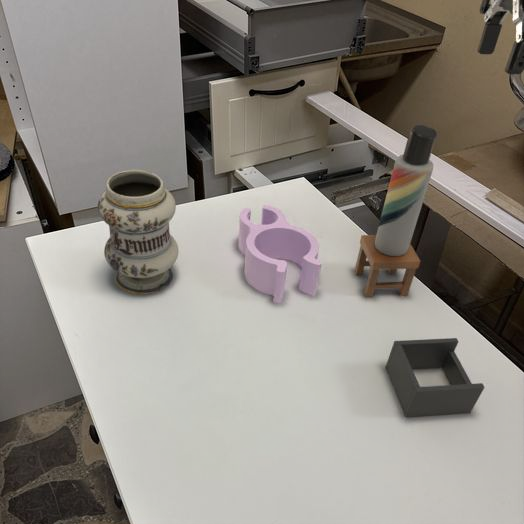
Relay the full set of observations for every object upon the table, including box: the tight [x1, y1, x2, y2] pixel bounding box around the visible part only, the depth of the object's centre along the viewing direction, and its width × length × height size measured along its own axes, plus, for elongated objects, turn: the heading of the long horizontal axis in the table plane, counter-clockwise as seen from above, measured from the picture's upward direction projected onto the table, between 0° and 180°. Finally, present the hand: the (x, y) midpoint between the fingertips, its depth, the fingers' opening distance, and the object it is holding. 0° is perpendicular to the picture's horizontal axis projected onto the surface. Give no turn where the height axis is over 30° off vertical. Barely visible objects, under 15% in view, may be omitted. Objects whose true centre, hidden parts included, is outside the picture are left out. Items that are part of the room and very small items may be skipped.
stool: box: [354, 234, 421, 298], centre depth 91 cm, size 8×8×8 cm
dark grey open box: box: [385, 337, 485, 419], centre depth 75 cm, size 10×10×6 cm
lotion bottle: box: [375, 124, 438, 256], centre depth 82 cm, size 6×6×20 cm
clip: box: [238, 204, 323, 304], centre depth 93 cm, size 20×12×7 cm, turn 23°
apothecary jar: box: [97, 169, 179, 295], centre depth 85 cm, size 12×12×18 cm
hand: (498, 63), depth 73 cm, fingers open, 8 cm apart
